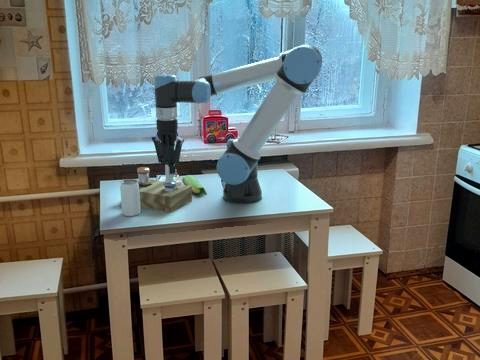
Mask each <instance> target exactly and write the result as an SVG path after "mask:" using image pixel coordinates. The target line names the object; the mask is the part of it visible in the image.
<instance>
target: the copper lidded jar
mask: <svg viewBox="0 0 480 360" xmlns="http://www.w3.org/2000/svg"><path fill="white" fill-rule="evenodd" d="M136 172H137V176H138V177H137V178H138V181H139V187H144V188H146V187H148V186H150V185H149V179H150V172H151V171H150V167H148V166H141V167H137V168H136Z"/></svg>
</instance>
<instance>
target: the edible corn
mask: <svg viewBox="0 0 480 360" xmlns="http://www.w3.org/2000/svg"><path fill="white" fill-rule="evenodd" d="M181 181H182V184H183V185H188V186H192V194H193V193H194V194H195V195H197V196H199V197H200V196H202V197H204V196H206V195H207V191H206V189H205V187H204V186H203V185H202V184H201V183H200V182H199V181H198V180H197V179H196V178H195V177H194V176H193V175H192V174H189V175H185V176H183V177H182V179H181Z"/></svg>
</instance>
